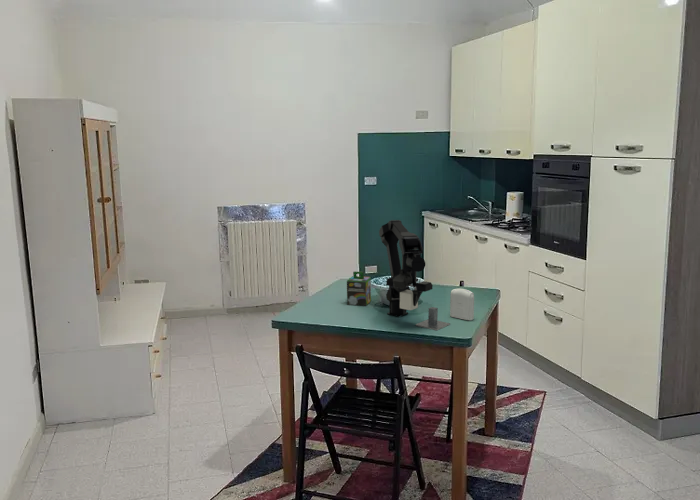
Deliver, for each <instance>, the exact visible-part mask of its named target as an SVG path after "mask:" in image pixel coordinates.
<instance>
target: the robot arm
mask: <svg viewBox="0 0 700 500" xmlns="http://www.w3.org/2000/svg"><path fill="white" fill-rule="evenodd" d="M378 233H379V235H378V236H379V237H380V240H381V242H382V244H383V245H384V246H385V248H386V253H387V258H388V264H389V265H388V266H389V271H390V276H391V277H389V278H387V279H386V281H385V284H386V285H385V286H388V289H387V292H386V294H385V295H386V297H385V298H386V300H387V301H388V302H389V305H388V306H389V308H388V309H389V311H388V312H387V315H389V316H395V317H398V318H399V317H403V316H404V315H408V312H407V310H406V309H401V308H400V292H402V291H405V290H411V288H410V287H412V288H414V289H412V292H413V305H414V306H416V304H417V302H418V303H419V300H420V297H421V296H422V294H423V293H425V292H429V291H431V290H433V284H432V282H430V281H425V280H423V281H420V282H419V278H417V273H419V272H422V271H423V270H424V269H425V268H426V261H425V259H424V258H423V257H422V256H421V254H423V253H424V252H423V250H424V248H423V245H422V242H421V239H420V237H419V236H418V235H417V234H416V233H413V232H410V231H408V229H407V228H406V227H405V225H403V223H402V220H400V219H391V220H389V221H388V222H386V223H385V224H383V225H381V226H380V228H379V230H378ZM398 245H399V248H398ZM399 249H400V251H401V258H402V259H401V258H400V254H399ZM400 259H401V260H400Z"/></svg>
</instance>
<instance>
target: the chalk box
mask: <svg viewBox="0 0 700 500" xmlns="http://www.w3.org/2000/svg"><path fill="white" fill-rule="evenodd" d="M357 275H360V276H357ZM371 277H372V276H365V275H364V272H363V271H353V276H351V277H349V278H348V279H347V280H346V304H347V306H359V307H367V306H368V305H369V303H371V301H372V292H371V291H372V284H371V283H372V278H371Z"/></svg>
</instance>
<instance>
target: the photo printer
mask: <svg viewBox="0 0 700 500" xmlns="http://www.w3.org/2000/svg"><path fill="white" fill-rule="evenodd" d="M449 303H450V304H449V305H450V307H449V308H450V309H449V310H450V312H449V313H450V314H449V315H450V317H452V318H456V319H461V320H465V321H473V320H474V319H475V318H474V317H475V293H474V292H472V291H470V290H468V289H466V288H454V289H451V292H450V302H449Z"/></svg>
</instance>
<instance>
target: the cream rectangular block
mask: <svg viewBox="0 0 700 500" xmlns="http://www.w3.org/2000/svg"><path fill="white" fill-rule="evenodd" d="M412 290H413V289H412ZM412 290H411V289H410V290H405V291H402V292H400V308H401V309H406V311H407V310H408V311H413V310H415V309H418V307H419V301H418V302H417V304H416V306H414V305H413V292H412Z"/></svg>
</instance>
